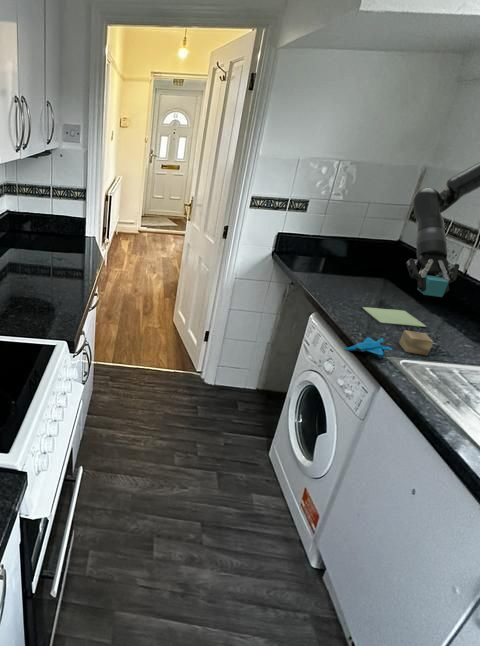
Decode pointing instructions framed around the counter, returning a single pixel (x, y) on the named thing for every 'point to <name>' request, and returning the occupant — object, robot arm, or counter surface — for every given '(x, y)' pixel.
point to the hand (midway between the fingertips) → (433, 291)
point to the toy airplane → (370, 347)
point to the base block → (415, 342)
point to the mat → (393, 316)
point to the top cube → (435, 286)
